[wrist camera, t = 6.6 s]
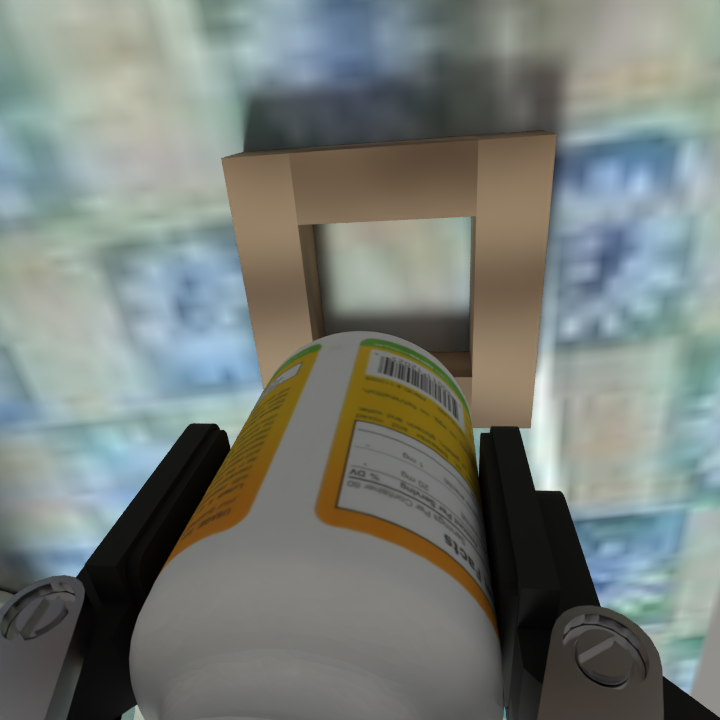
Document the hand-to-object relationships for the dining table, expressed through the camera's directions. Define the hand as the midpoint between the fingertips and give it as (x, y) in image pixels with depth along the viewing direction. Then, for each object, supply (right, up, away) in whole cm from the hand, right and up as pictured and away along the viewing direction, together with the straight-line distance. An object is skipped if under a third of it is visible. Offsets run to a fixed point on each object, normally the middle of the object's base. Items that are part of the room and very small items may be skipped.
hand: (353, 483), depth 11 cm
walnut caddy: (+2, +6, +12) cm, 13 cm away
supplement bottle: (0, +1, +2) cm, 3 cm away
